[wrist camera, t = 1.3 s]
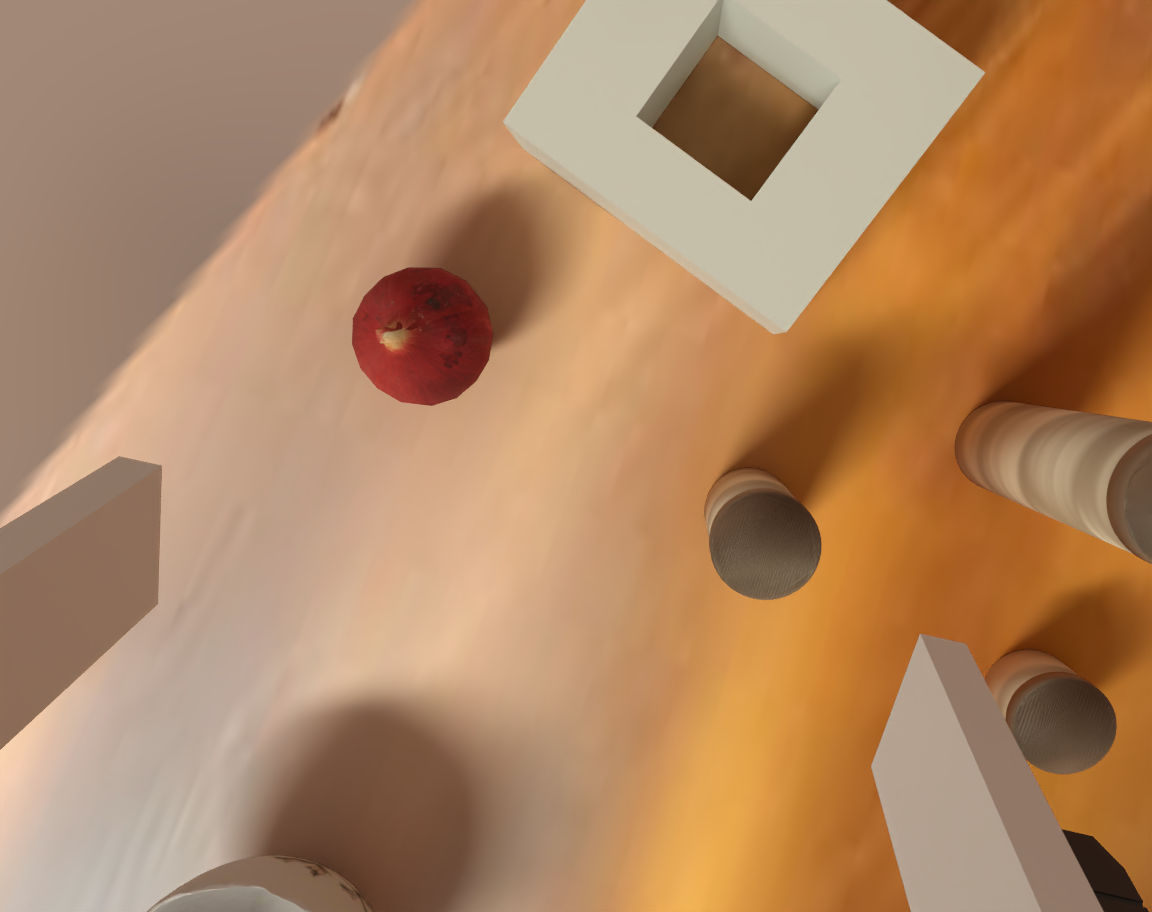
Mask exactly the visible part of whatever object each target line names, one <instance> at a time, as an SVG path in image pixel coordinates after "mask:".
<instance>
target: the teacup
mask: <svg viewBox="0 0 1152 912" xmlns="http://www.w3.org/2000/svg"><path fill="white" fill-rule="evenodd" d="M147 912H373V911H372V909H371V908H370V906H369V904H368V903H367V901H366V900H365V899H364V897H363V896H362V895H361V894H360V893H359V891H358V890H357V889H356V888H355V887H354V886H353V885H352V884H351V883H349V882H348V881H347V880H346V879H345V878H343V877H342V876H341V875H339V874H338V873H336V872H335V871H333V870H331V869H329V868H328V867H325V866H323V865H321V864H318V863H316V862H313V861H310V860H306V859H302V858H297V857H290V856H260V857H251V858H247V859H242V860H238V861H234V862H231V863H228V864H225V865H221V866H219V867H217V868H214V869H212V870H210V871H207V872H205V873H203V874H201V875H199V876H197V877H196V878H194V879H192V880H190V881H189V882H187V883H185V884H184V885H182V886H180V887H179V888H177V889H176V890H174V891H173V892H171V893H170V894H169V895H167V896H166V897H164V898H163V899H161V900H160V901H159V902H157V903H156V904H155V905H154V906H153V907H152V908H151V909H149V910H148V911H147Z"/></svg>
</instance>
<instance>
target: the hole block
mask: <svg viewBox="0 0 1152 912" xmlns="http://www.w3.org/2000/svg"><path fill="white" fill-rule="evenodd" d="M717 36H719V37H720V38H722V39H723V40H724V41H726V42H727V43H728V44H730V45H731V46H733V47H734V48H735V49H737V50H738V51H739V52H741V53H742V54H743V55H745V56H746V57H748V58H749V59H750V60H752V61H753V62H754V63H756V64H757V65H758V66H760V67H761V68H762V69H764V70H765V71H767V72H768V73H769V74H771V75H772V76H773V77H775V78H776V79H777V80H779V81H780V82H781V83H783V84H784V85H786V86H787V87H788V88H790V89H791V90H792V91H794V92H795V93H796V94H798V95H799V96H800V97H802V98H803V99H805V100H806V101H807V102H809V103H810V104H811V105H813V106H814V107H815V108H817V109H818V112H817V113H816V114H815V116H814V117H813V118H812V120H811V121H810V122H809V124H808V125H807V126H806V128H805V129H804V131H803V132H802V133H801V135H800V136H799V137H798V139H797V140H796V141H795V143H794V144H793V145H792V147H791V148H790V149H789V151H788V152H787V153H786V155H785V156H784V157H783V159H782V160H781V162H780V163H779V164H778V166H777V167H776V168H775V170H774V171H773V172H772V174H771V175H770V176H769V178H768V179H767V180H766V182H765V183H764V184H763V186H762V187H761V189H760V190H759V191H758V193H757V194H756V195H755V197H754V198H753V199H752V201H750V200H749V199H747V198H746V197H745V196H743V195H742V194H741V193H739V192H738V191H737V190H735V189H734V188H732V187H731V186H730V185H728V184H727V183H726V182H724V181H723V180H722V179H720V178H719V177H718V176H716V175H715V174H714V173H712V172H711V171H709V170H708V169H707V168H705V167H704V166H703V165H701V164H700V163H699V162H697V161H696V160H695V159H693V158H692V157H691V156H689V155H688V154H686V153H685V152H684V151H682V150H681V149H680V148H678V147H677V146H676V145H674V144H673V143H672V142H670V141H669V140H668V139H666V138H665V137H663V136H662V135H661V134H659V133H658V132H657V131H655V130H654V129H653V128H652V127H653V126H654V124H655V123H656V122H657V120H658V119H659V117H660V116H661V115H662V113H663V112H664V110H665V109H666V108H667V106H668V105H669V103H670V102H671V101H672V99H673V98H674V96H675V95H676V94H677V92H678V91H679V89H680V88H681V87H682V85H683V84H684V82H685V81H686V80H687V78H688V77H689V75H690V74H691V73H692V71H693V70H694V68H695V67H696V65H697V64H698V63H699V61H700V60H701V58H702V57H703V56H704V54H705V53H706V51H707V50H708V49H709V47H710V46H711V44H712V43H713V42H714V40H715V39H716V37H717ZM984 74H985V72H984V71H983V70H981V69H980V68H979V67H977V66H976V65H974V64H973V63H972V62H970V61H969V60H968V59H966V58H965V57H964V56H962V55H961V54H959V53H958V52H957V51H955V50H954V49H953V48H951V47H950V46H949V45H947V44H946V43H944V42H943V41H942V40H940V39H939V38H938V37H936V36H935V35H934V34H932V33H931V32H929V31H928V30H927V29H925V28H924V27H923V26H921V25H920V24H918V23H917V22H916V21H914V20H913V19H912V18H910V17H909V16H908V15H906V14H905V13H903V12H902V11H901V10H899V9H898V8H897V7H895V6H894V5H893V4H891V3H890V2H888V1H887V0H586V1H585V3H584V4H583V6H582V7H581V8H580V10H579V11H578V13H577V14H576V16H575V17H574V19H573V20H572V22H571V23H570V25H569V26H568V27H567V29H566V30H565V32H564V33H563V35H562V36H561V38H560V39H559V41H558V42H557V44H556V45H555V46H554V48H553V49H552V51H551V52H550V54H549V55H548V57H547V58H546V60H545V61H544V63H543V64H542V65H541V67H540V68H539V70H538V71H537V73H536V74H535V76H534V77H533V79H532V80H531V82H530V83H529V84H528V86H527V87H526V89H525V90H524V92H523V93H522V95H521V96H520V98H519V99H518V101H517V102H516V103H515V105H514V106H513V108H512V109H511V111H510V112H509V114H508V115H507V117H506V118H505V120H504V121H503V123H504V124H505V125H506V127H507V128H508V129H509V131H510V132H511V133H512V135H513V136H514V137H515V139H516V140H517V141H518V143H519V144H520V146H521V147H522V148H523V149H524V150H525V151H527V152H528V153H529V154H531V155H532V156H533V157H535V158H536V159H537V160H539V161H540V162H542V163H543V164H544V165H546V166H547V167H548V168H550V169H551V170H552V171H554V172H555V173H556V174H558V175H559V176H560V177H562V178H563V179H564V180H566V181H567V182H568V183H570V184H571V185H573V186H574V187H575V188H577V189H578V190H579V191H581V192H582V193H583V194H585V195H586V196H587V197H589V198H590V199H591V200H593V201H594V202H595V203H597V204H598V205H599V206H601V207H602V208H604V209H605V210H606V211H608V212H609V213H610V214H612V215H613V216H614V217H616V218H617V219H618V220H620V221H621V222H622V223H624V224H625V225H626V226H628V227H629V228H630V229H632V230H633V231H635V232H636V233H637V234H639V235H640V236H641V237H643V238H644V239H645V240H647V241H648V242H649V243H651V244H652V245H653V246H655V247H656V248H657V249H659V250H660V251H662V252H663V253H664V254H666V255H667V256H668V257H670V258H671V259H672V260H674V261H675V262H676V263H678V264H679V265H680V266H682V267H683V268H684V269H686V270H687V271H688V272H690V273H691V274H693V275H694V276H695V277H697V278H698V279H699V280H701V281H702V282H703V283H705V284H706V285H707V286H709V287H710V288H711V289H713V290H714V291H715V292H717V293H718V294H719V295H721V296H722V297H724V298H725V299H726V300H728V301H729V302H730V303H732V304H733V305H734V306H736V307H737V308H738V309H740V310H741V311H742V312H744V313H745V314H746V315H748V316H749V317H750V318H752V319H753V320H755V321H756V322H757V323H759V324H760V325H761V326H763V327H764V328H765V329H767V330H768V331H769V332H771V333H772V334H779V333H784V332H787V331H788V330H789V328H790V327H791V326H792V324H793V323H794V322H795V320H796V319H797V318H798V316H799V315H800V314H801V313H802V311H803V310H804V309H805V307H806V306H807V305H808V303H809V302H810V301H811V300H812V298H813V297H814V296H815V294H816V293H817V292H818V290H819V289H820V288H821V286H822V285H823V284H824V283H825V281H826V280H827V279H828V277H829V276H830V275H831V273H832V272H833V271H834V270H835V268H836V267H837V266H838V264H839V263H840V262H841V260H842V259H843V258H844V256H845V255H846V254H847V253H848V251H849V250H850V249H851V247H852V246H853V245H854V243H855V242H856V241H857V240H858V238H859V237H860V236H861V234H862V233H863V232H864V230H865V229H866V228H867V226H868V225H869V224H870V223H871V221H872V220H873V219H874V217H875V216H876V215H877V213H878V212H879V211H880V210H881V208H882V207H883V206H884V204H885V203H886V202H887V200H888V199H889V198H890V196H891V195H892V194H893V193H894V191H895V190H896V189H897V187H898V186H899V185H900V183H901V182H902V181H903V179H904V178H905V177H906V176H907V174H908V173H909V172H910V170H911V169H912V168H913V166H914V165H915V164H916V163H917V161H918V160H919V159H920V157H921V156H922V155H923V153H924V152H925V151H926V149H927V148H928V147H929V146H930V144H931V143H932V142H933V140H934V139H935V138H936V136H937V135H938V134H939V133H940V131H941V130H942V129H943V127H944V126H945V125H946V123H947V122H948V121H949V119H950V118H951V117H952V116H953V114H954V113H955V112H956V110H957V109H958V108H959V106H960V105H961V104H962V103H963V101H964V100H965V99H966V97H967V96H968V95H969V93H970V92H971V91H972V89H973V88H974V87H975V86H976V84H977V83H978V82H979V80H980V79H981V78H982V76H983V75H984Z"/></svg>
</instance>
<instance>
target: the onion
mask: <svg viewBox="0 0 1152 912" xmlns="http://www.w3.org/2000/svg"><path fill="white" fill-rule="evenodd" d="M492 338H493V332H492V327H491V323H490V318H489V314H488V309H487V307H486V305H485V304H484V303H483V301H482V300H481V299H480V298H479V296H478V295H477V294H476V293H475V291H474V290H473V289H472V288H471V286H470V285H469V284H468V282H467V281H465V280H463V279H461V278H459V277H457V276H455V275H453V274H451V273H449V272H447V271H445V270H443V269H441V268H406V269H403V270H401V271H398V272H395V273H393V274H390V275H388V276H385V277H383V278H382V279H381V280H380V281H379V282H378V283H377V284H376V285H375V286H374V287H373V288H372V289H371V290H370V291H369V292H368V293H367V294H366V295H365V296H364V298H363V300H362V302H361V304H360V306H359V308H358V310H357V312H356V314H355V315H354V317H353V333H352V345H353V348H354V351H355V354H356V357H357V359H358V362H359V365H360V368H361V369H362V371H363V372H364V373H365V374H366V375H367V377H368V378H369V379H370V380H371V381H372V382H373V384H374V385H375V386H376V387H377V388H378V389H380V390H381V391H383V392H385V393H386V394H388V395H390V396H392V397H393V398H395V399H397V400H398V401H400V402H405V403H413V404H421V405H429V406H433V405H436V404H439V403H442V402H445V401H448V400H452V399H455V398H457V397H458V396H459V395H461V394H462V393H463V392H464V391H465V390H466V389H468V388H469V387H470V386H471V385H472V384H473V383H475V382H476V380H477V379H478V377H479V376H480V374H481V372H482V371H483V369H484V367H485V366H486V364H487V362H488V361H489V356H490V350H491V344H492Z"/></svg>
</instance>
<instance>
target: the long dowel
mask: <svg viewBox="0 0 1152 912" xmlns="http://www.w3.org/2000/svg"><path fill="white" fill-rule="evenodd" d="M955 455H956V460H957V463H958V465H959V467H960V469H961V470H962V472H963V473H964V475H965V476H966V477H967V478H968V479H969V480H970V481H972V482H973V483H975V484H976V485H978V486H980V487H982V488H984V489H987V490H989V491H991V492H993V493H996V494H998V495H1000V496H1003V497H1005V498H1007V499H1009V500H1012V501H1014V502H1016V503H1019V504H1021V505H1023V506H1025V507H1028V508H1030V509H1032V510H1034V511H1037V512H1039V513H1041V514H1044V515H1046V516H1048V517H1050V518H1053V519H1055V520H1057V521H1060V522H1062V523H1064V524H1066V525H1069V526H1071V527H1073V528H1076V529H1078V530H1080V531H1082V532H1085V533H1087V534H1089V535H1091V536H1094V537H1096V538H1098V539H1101V540H1103V541H1105V542H1107V543H1110V544H1112V545H1114V546H1117V547H1119V548H1121V549H1123V550H1126V551H1128V552H1130V553H1133V554H1134V555H1136V556H1137V557H1139V558H1141V559H1142V560H1145V561H1147V562H1149V563H1151V564H1152V422H1148V421H1141V420H1134V419H1127V418H1120V417H1114V416H1107V415H1100V414H1093V413H1086V412H1079V411H1072V410H1066V409H1059V408H1052V407H1045V406H1038V405H1031V404H1025V403H1018V402H1011V401H996V402H991V403H988V404H985V405H983V406H981V407H979V408H977V409H976V410H974V411H973V412H972V413H971V414H969V415H968V417H967V418H966V419H965V420H964V421H963V423H962V424H961V426H960V428H959V430H958V433H957V435H956V440H955Z"/></svg>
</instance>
